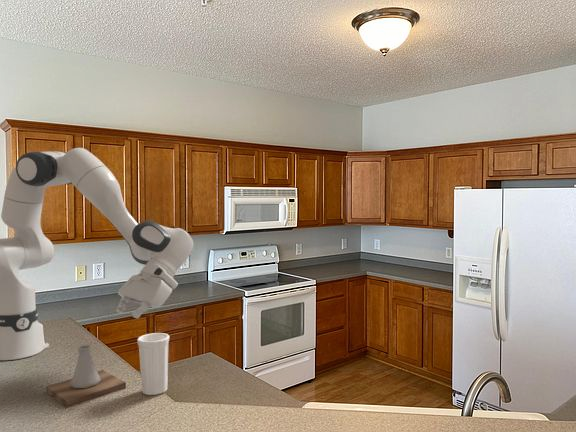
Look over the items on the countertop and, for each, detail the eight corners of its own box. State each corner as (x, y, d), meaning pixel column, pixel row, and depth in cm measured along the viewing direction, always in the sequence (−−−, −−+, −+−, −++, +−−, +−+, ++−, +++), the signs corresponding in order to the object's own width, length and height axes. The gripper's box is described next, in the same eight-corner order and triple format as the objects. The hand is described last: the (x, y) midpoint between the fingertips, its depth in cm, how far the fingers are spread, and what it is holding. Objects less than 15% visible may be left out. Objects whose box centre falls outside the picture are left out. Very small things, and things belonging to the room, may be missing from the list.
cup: (138, 388, 118) (136, 335, 118) (169, 383, 121) (167, 331, 121) (139, 400, 111) (137, 343, 110) (172, 394, 114) (171, 339, 113)
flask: (86, 391, 113) (84, 352, 113) (64, 387, 116) (62, 349, 115) (106, 380, 120) (105, 343, 120) (85, 377, 122) (83, 341, 122)
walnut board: (46, 391, 117) (46, 386, 117) (102, 374, 128) (102, 369, 128) (67, 407, 107) (67, 401, 107) (125, 387, 118) (125, 382, 118)
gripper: (131, 266, 138) (101, 303, 131) (167, 272, 124) (136, 313, 117) (145, 278, 141) (116, 314, 134) (181, 285, 127) (151, 326, 120)
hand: (126, 314), depth 126 cm, fingers open, 8 cm apart
